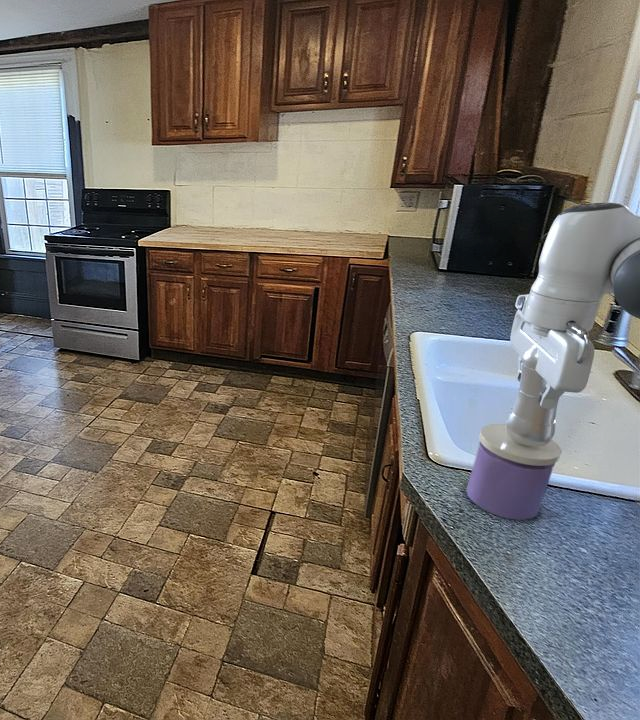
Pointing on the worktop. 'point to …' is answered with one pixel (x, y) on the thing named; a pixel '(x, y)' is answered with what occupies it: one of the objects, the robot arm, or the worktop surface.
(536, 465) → the jar
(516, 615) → the worktop surface
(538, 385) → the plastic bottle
